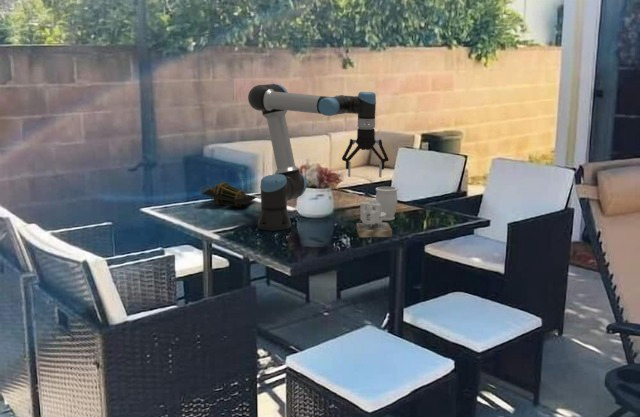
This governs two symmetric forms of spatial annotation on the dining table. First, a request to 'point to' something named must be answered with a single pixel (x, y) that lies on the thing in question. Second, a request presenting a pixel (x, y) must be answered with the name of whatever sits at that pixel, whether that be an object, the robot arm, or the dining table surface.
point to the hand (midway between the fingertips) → (364, 176)
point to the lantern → (227, 195)
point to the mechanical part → (371, 212)
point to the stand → (374, 230)
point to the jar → (387, 201)
